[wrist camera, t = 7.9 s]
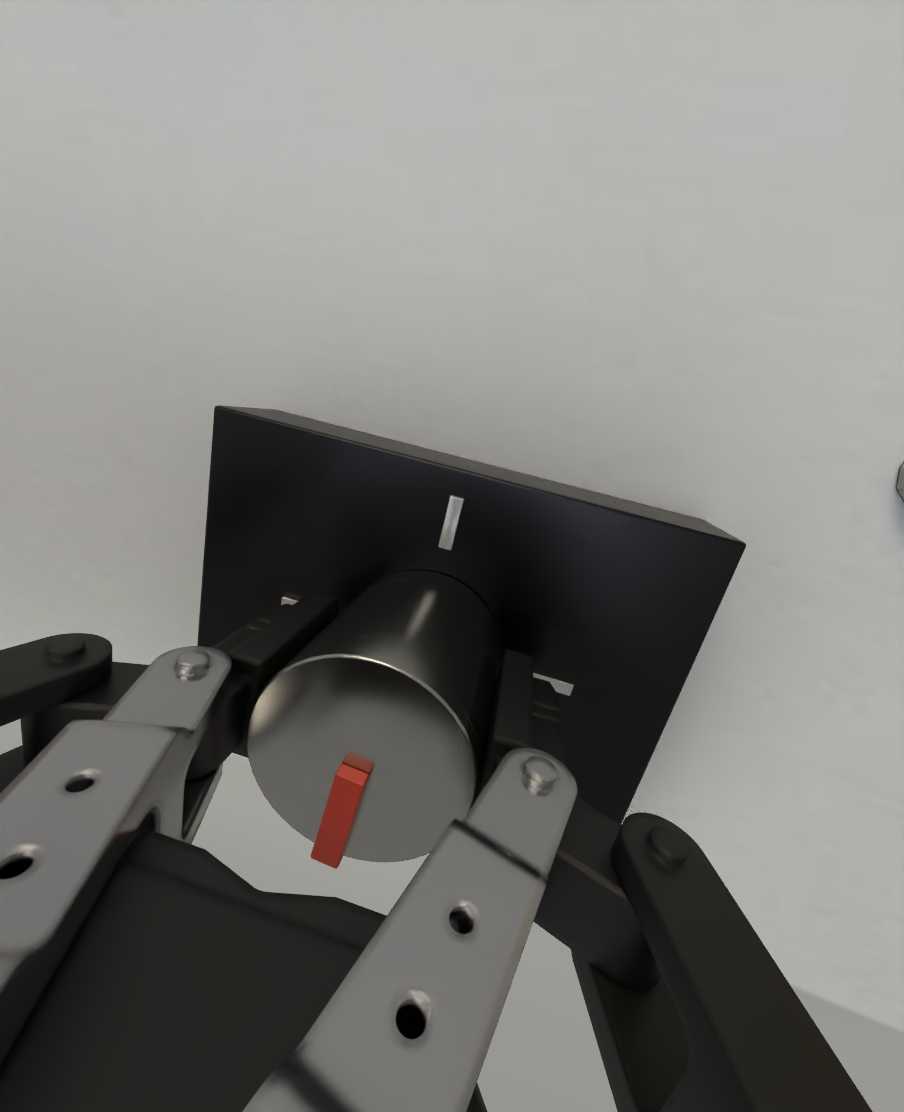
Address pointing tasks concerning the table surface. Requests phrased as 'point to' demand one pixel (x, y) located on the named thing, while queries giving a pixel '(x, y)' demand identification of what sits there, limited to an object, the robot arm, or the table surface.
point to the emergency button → (901, 481)
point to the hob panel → (474, 568)
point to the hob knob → (381, 721)
